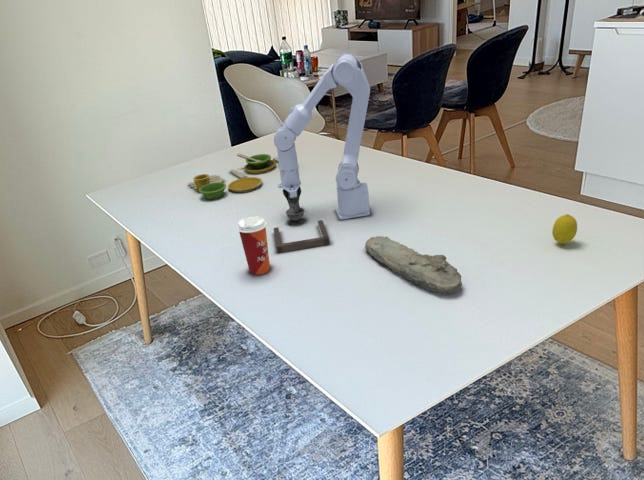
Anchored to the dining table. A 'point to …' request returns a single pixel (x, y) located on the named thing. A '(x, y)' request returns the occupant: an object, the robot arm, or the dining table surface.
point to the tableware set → (256, 164)
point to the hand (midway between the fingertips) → (294, 211)
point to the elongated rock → (416, 265)
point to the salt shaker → (295, 210)
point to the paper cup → (255, 244)
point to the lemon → (564, 229)
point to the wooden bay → (303, 243)
